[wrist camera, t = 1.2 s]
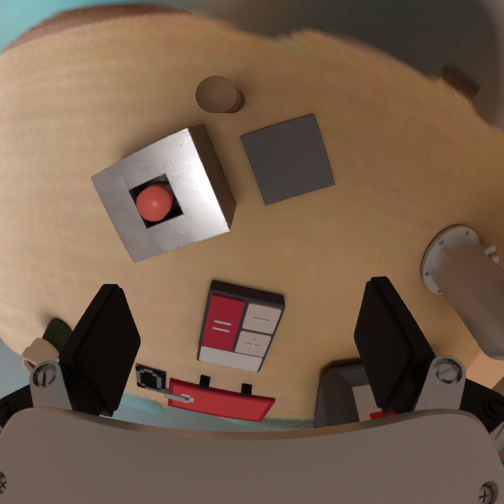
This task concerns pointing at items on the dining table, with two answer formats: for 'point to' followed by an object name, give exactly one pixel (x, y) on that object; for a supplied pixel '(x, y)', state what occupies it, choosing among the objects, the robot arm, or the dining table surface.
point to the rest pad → (288, 159)
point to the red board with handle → (207, 397)
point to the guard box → (184, 186)
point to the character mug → (46, 346)
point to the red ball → (156, 201)
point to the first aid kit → (345, 397)
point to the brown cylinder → (219, 95)
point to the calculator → (239, 326)
